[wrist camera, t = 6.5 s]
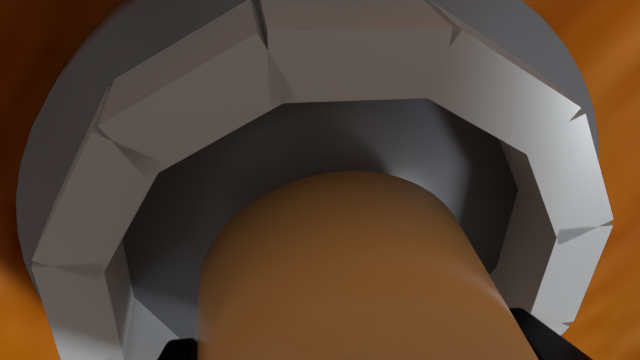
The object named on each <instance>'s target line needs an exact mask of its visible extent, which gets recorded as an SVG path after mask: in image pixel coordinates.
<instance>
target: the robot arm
mask: <svg viewBox="0 0 640 360" xmlns="http://www.w3.org/2000/svg"><path fill="white" fill-rule="evenodd" d="M509 310H510V312H511V313H512V315H513V317H514V318H515V320H516V322H517V323H518V325H519V327H520V329H521V330H522V332H523V334H524V335H525V337H526V339H527V341H528V342H529V344H530V346H531V347H532V349H533V351H534V352H535V354H536V356H537V358H538V359H539V360H592V359H591V358H590V357H588V356H587V355H586V354H584V353H583V352H582V351H580V350H579V349H578V348H576V347H575V346H574V345H572V344H571V343H570V342H568V341H567V340H566V339H564V338H563V337H562V336H560V335H559V334H558V333H556V332H555V331H554V330H552V329H551V328H550V327H548V326H547V325H546V324H544V323H543V322H541V321H540V320H539V319H537V318H536V317H535V316H533V315H532V314H531V313H529V312H528V311H527V310H525V309H523V308H520V307H514V308H509ZM196 350H197V342H196V340H195V339H194V338H183V339H173V340H170V341H168V342H167V344H166V345H165V347H164V348H163V350H162V352H161V354H160V355H159V357H158V359H157V360H196Z"/></svg>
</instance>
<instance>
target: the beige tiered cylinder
mask: <svg viewBox="0 0 640 360" xmlns="http://www.w3.org/2000/svg"><path fill="white" fill-rule="evenodd" d="M196 360H539V359H538V358H537V356H536V354H535V352H534V351H533V349H532V347H531V346H530V344H529V342H528V341H527V339H526V337H525V335H524V334H523V332H522V330H521V329H520V327H519V325H518V323H517V322H516V320H515V318H514V317H513V315H512V313H511V312H510V310H509V308H508V306H507V305H506V303H505V301H504V300H503V298H502V296H501V294H500V293H499V291H498V289H497V288H496V286H495V284H494V283H493V281H492V279H491V277H490V276H489V274H488V272H487V271H486V269H485V267H484V265H483V264H482V262H481V260H480V259H479V257H478V255H477V254H476V252H475V250H474V248H473V247H472V245H471V243H470V242H469V240H468V238H467V236H466V235H465V233H464V231H463V230H462V228H461V226H460V225H459V223H458V221H457V220H456V218H455V216H454V215H453V213H452V212H451V211H450V209H449V208H448V207H447V206H446V205H445V204H444V203H443V202H442V201H441V200H440V199H439V198H437V197H436V196H435V195H434V194H432V193H431V192H430V191H428V190H426V189H424V188H423V187H421V186H419V185H418V184H415V183H413V182H410V181H408V180H405V179H403V178H400V177H396V176H392V175H388V174H384V173H376V172H368V171H340V172H330V173H323V174H319V175H314V176H309V177H305V178H302V179H299V180H296V181H293V182H290V183H287V184H285V185H282V186H280V187H278V188H276V189H274V190H272V191H269V192H267V193H266V194H264V195H262V196H261V197H259V198H257V199H256V200H254V201H253V202H251V203H250V204H248V205H247V206H246V207H244V208H243V209H242V210H241V211H239V212H238V213H237V214H236V215H235V216H234V217H233V218H232V219H231V220H230V221H229V222H228V223H227V224H226V225H225V226H224V227H223V228H222V229H221V231H220V232H219V233H218V235H217V236H216V237H215V239H214V240H213V242H212V244H211V246H210V247H209V249H208V251H207V253H206V255H205V258H204V261H203V264H202V266H201V270H200V276H199V282H198V312H197V350H196Z"/></svg>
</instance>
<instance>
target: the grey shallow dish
mask: <svg viewBox="0 0 640 360" xmlns="http://www.w3.org/2000/svg"><path fill="white" fill-rule="evenodd" d="M340 171H368V172H376V173H384V174H388V175H392V176H396V177H400V178H403V179H405V180H408V181H410V182H413V183H415V184H418V185H419V186H421V187H423V188H424V189H426V190H428V191H430V192H431V193H432V194H434V195H435V196H436V197H437V198H439V199H440V200H441V201H442V202H443V203H444V204H445V205H446V206H447V207H448V208H449V209H450V211H451V212H452V213H453V215H454V216H455V218H456V220H457V221H458V223H459V225H460V226H461V228H462V230H463V231H464V233H465V235H466V236H467V238H468V240H469V242H470V243H471V245H472V247H473V248H474V250H475V252H476V254H477V255H478V257H479V259H480V260H481V262H482V264H483V265H484V267H485V269H486V271H487V272H488V274H489V276H490V277H491V279H492V281H493V283H494V284H495V286H496V288H497V289H498V291H499V293H500V294H501V296H502V298H503V300H504V301H505V303H506V305H507V306H508V308H514V307H520V308H523V309H525V310H527V311H528V312H529V313H531V314H532V315H533V316H535V317H536V318H537V319H539V320H540V321H541V322H543V323H544V324H546V325H547V326H548V327H550V328H551V329H552V330H554V331H555V332H556V333H558V334H559V335H561V334H562V333H564V332H565V331H566V330H567V329H568V328H569V327H570V326H569V324H568V323H567V322H574V319H575V317H576V315H577V312H578V310H579V307H580V305H581V302H582V300H583V297H584V295H585V293H586V290H587V288H588V285H589V283H590V280H591V278H592V275H593V273H594V271H595V268H596V266H597V263H598V261H599V258H600V256H601V253H602V251H603V249H604V246H605V244H606V241H607V239H608V236H609V234H610V231H611V229H612V226H613V225H612V224H611V223H610V222H609V221H611V220H613V215H612V212H611V208H610V204H609V200H608V196H607V193H606V189H605V185H604V181H603V178H602V174H601V170H600V166H599V162H598V133H597V127H596V121H595V115H594V109H593V105H592V102H591V99H590V96H589V93H588V90H587V88H586V85H585V82H584V79H583V76H582V74H581V72H580V71H579V69H578V67H577V65H576V64H575V62H574V60H573V58H572V56H571V55H570V53H569V51H568V49H567V47H566V46H565V45H564V44H563V42H562V41H561V40H560V39H559V37H558V36H557V35H556V34H555V33H554V31H553V30H552V29H551V28H550V26H549V25H548V24H547V23H546V22H545V20H544V19H543V18H542V17H541V16H539V15H538V14H537V13H536V12H535V11H534V10H532V9H531V8H530V7H529V6H528V5H527V4H525V3H524V2H523V1H522V0H123V1H122V2H120V3H119V4H118V5H117V6H116V7H115V8H114V9H113V10H112V11H111V12H110V13H109V14H108V15H107V16H106V17H105V18H104V19H103V20H102V21H101V22H100V23H99V24H98V25H97V26H96V27H95V28H93V29H92V30H91V31H90V32H89V33H88V35H87V36H86V38H85V39H84V40H83V42H82V43H81V44H80V46H79V47H78V48H77V50H76V51H75V52H74V54H73V55H72V56H71V58H70V59H69V60H68V62H67V63H66V64H65V66H64V68H63V69H62V71H61V73H60V75H59V77H58V78H57V80H56V82H55V84H54V86H53V87H52V89H51V91H50V93H49V95H48V97H47V99H46V101H45V102H44V104H43V106H42V108H41V110H40V112H39V114H38V116H37V118H36V120H35V122H34V124H33V126H32V128H31V131H30V134H29V137H28V141H27V144H26V147H25V150H24V153H23V157H22V160H21V163H20V169H19V177H18V185H17V193H16V214H17V233H18V237H19V242H20V246H21V250H22V254H23V259H24V263H25V266H26V268H27V271H28V273H29V275H30V278H31V280H32V283H33V285H34V287H35V290H36V292H37V294H38V296H39V297H40V299H41V300H42V303H43V306H44V309H45V312H46V315H47V318H48V321H49V324H50V327H51V331H52V334H53V337H54V340H55V343H56V346H57V349H58V352H59V355H60V359H61V360H157V359H158V357H159V355H160V354H161V352H162V350H163V348H164V347H165V345H166V344H167V342H168V341H170V340H173V339H183V338H194V339H195V340H196V342H197V312H198V282H199V276H200V270H201V266H202V264H203V261H204V258H205V255H206V253H207V251H208V249H209V247H210V246H211V244H212V242H213V240H214V239H215V237H216V236H217V235H218V233H219V232H220V231H221V229H222V228H223V227H224V226H225V225H226V224H227V223H228V222H229V221H230V220H231V219H232V218H233V217H234V216H235V215H236V214H237V213H238V212H239V211H241V210H242V209H243V208H244V207H246V206H247V205H248V204H250V203H251V202H253V201H254V200H256V199H257V198H259V197H261V196H262V195H264V194H266V193H267V192H269V191H272V190H274V189H276V188H278V187H280V186H282V185H285V184H287V183H290V182H293V181H296V180H299V179H302V178H305V177H309V176H314V175H319V174H323V173H330V172H340Z"/></svg>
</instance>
